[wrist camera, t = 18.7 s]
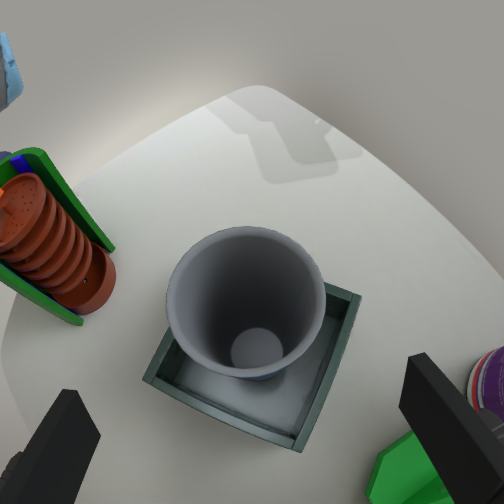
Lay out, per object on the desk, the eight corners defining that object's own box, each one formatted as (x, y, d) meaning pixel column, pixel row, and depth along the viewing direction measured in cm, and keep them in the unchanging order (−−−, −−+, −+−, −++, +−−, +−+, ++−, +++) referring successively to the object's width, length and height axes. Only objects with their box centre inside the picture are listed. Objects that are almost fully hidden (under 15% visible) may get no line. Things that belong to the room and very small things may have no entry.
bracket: (450, 396, 23) (491, 389, 17) (478, 450, 20) (519, 452, 14) (351, 471, 21) (375, 489, 15) (385, 525, 18) (413, 550, 12)
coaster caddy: (107, 328, 29) (-40, 223, 11) (44, 321, 29) (-90, 231, 11) (123, 240, 33) (30, 99, 16) (63, 242, 34) (-34, 128, 16)
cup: (233, 402, 24) (192, 400, 11) (207, 331, 27) (150, 255, 14) (308, 374, 25) (353, 338, 12) (278, 305, 28) (286, 207, 15)
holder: (165, 385, 26) (141, 379, 21) (224, 269, 31) (215, 240, 26) (294, 443, 23) (301, 453, 18) (345, 316, 28) (362, 295, 23)
